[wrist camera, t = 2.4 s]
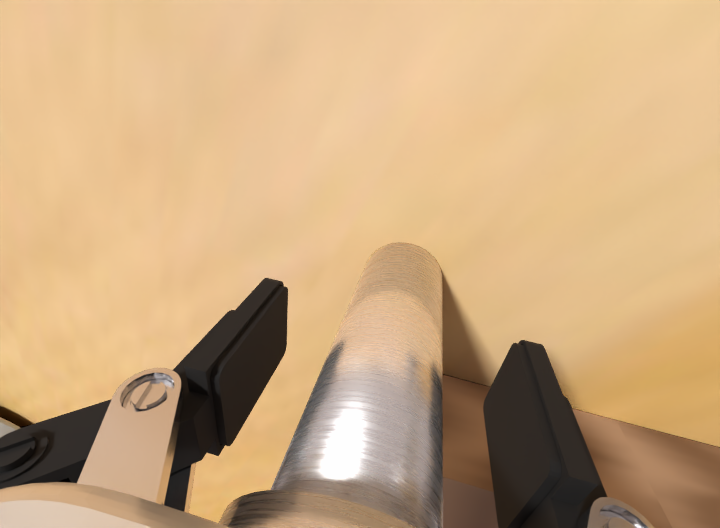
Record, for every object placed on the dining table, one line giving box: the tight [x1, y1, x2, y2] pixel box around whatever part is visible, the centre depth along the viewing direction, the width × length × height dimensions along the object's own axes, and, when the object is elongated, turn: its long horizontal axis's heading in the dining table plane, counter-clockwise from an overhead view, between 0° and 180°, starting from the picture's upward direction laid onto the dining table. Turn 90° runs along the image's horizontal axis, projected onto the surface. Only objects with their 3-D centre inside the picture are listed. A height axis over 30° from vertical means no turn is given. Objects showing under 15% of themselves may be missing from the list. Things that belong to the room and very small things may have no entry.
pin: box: [218, 243, 443, 528], centre depth 9 cm, size 5×5×12 cm
